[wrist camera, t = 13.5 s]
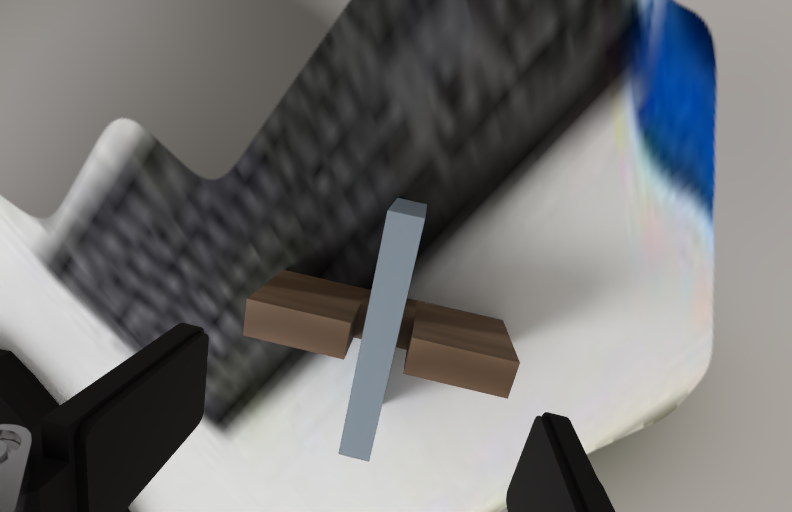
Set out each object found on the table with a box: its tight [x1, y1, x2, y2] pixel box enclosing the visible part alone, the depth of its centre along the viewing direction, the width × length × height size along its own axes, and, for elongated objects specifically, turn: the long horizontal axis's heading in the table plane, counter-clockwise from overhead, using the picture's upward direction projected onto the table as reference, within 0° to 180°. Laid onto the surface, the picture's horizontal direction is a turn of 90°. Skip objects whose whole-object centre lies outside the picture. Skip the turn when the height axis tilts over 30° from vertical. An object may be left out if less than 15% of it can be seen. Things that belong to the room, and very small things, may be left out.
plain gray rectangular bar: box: [339, 198, 427, 461], centre depth 31 cm, size 20×2×7 cm, turn 168°
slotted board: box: [243, 270, 520, 399], centre depth 31 cm, size 3×20×7 cm, turn 78°
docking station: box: [0, 350, 130, 512], centre depth 43 cm, size 25×40×5 cm, turn 22°
